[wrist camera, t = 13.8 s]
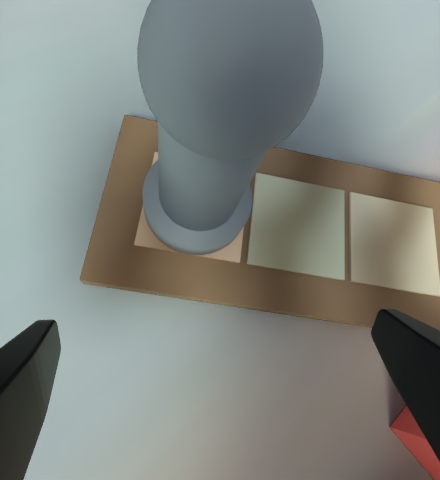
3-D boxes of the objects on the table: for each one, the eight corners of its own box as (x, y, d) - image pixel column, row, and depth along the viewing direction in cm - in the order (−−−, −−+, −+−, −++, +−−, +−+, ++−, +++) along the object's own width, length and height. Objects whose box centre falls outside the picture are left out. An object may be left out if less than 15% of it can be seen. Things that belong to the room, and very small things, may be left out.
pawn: (265, 216, 19) (424, 14, 7) (187, 276, 17) (240, 130, 6) (203, 145, 19) (262, -137, 8) (122, 195, 18) (53, -79, 6)
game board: (444, 192, 23) (459, 184, 22) (461, 341, 20) (480, 340, 18) (126, 125, 20) (124, 112, 19) (83, 283, 17) (78, 279, 16)
